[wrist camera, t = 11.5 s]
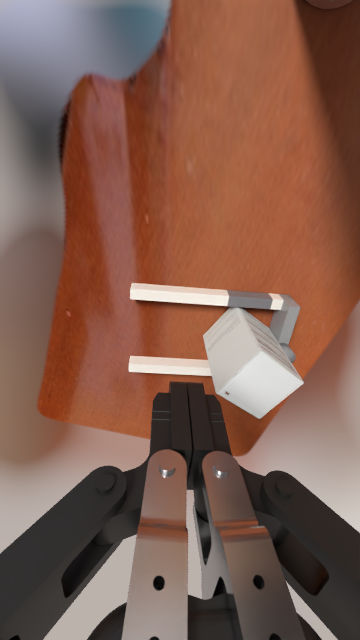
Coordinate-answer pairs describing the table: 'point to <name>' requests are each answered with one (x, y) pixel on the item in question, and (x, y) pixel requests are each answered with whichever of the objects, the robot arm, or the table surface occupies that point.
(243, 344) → the supplement box
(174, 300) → the guide channel
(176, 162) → the table surface
